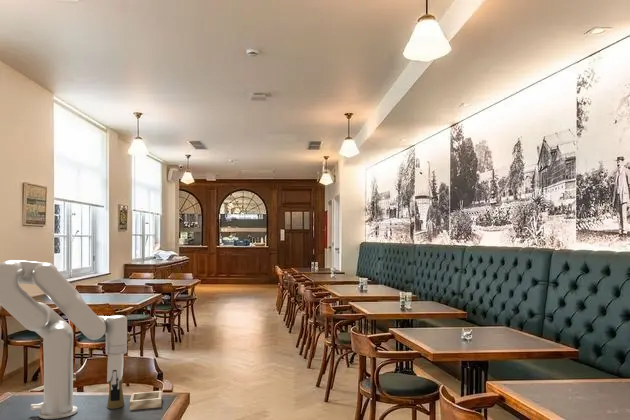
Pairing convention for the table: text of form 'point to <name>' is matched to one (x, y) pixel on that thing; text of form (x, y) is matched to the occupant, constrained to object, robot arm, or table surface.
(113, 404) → the cork
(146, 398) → the beige square frame
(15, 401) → the table surface
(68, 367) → the robot arm
